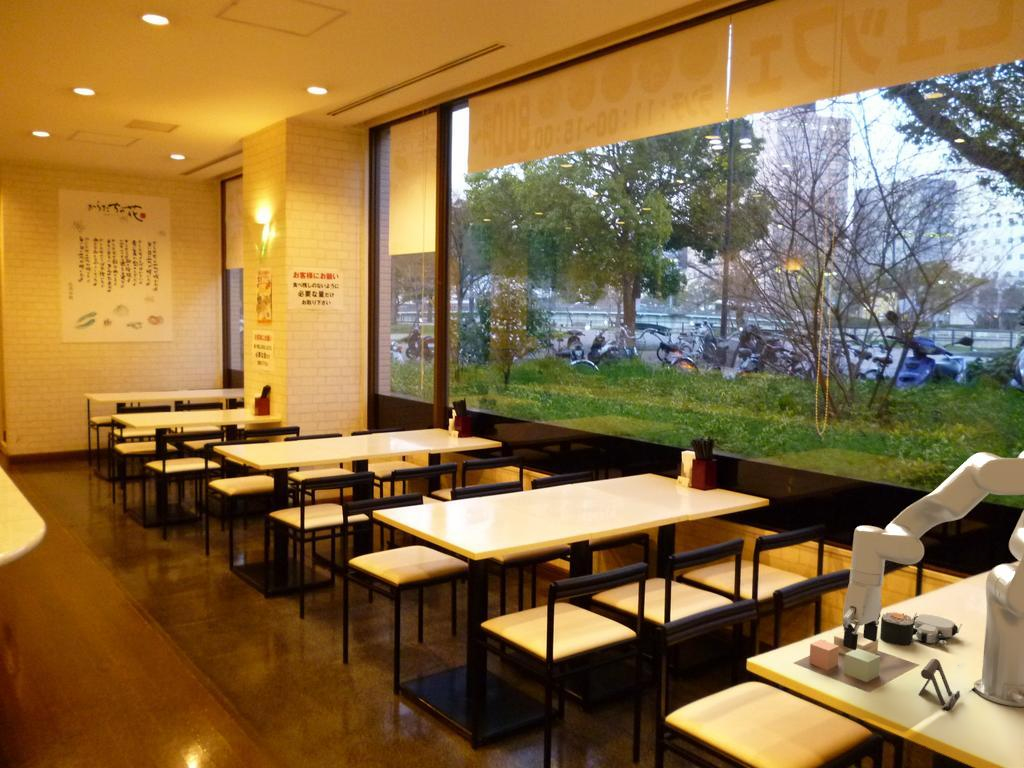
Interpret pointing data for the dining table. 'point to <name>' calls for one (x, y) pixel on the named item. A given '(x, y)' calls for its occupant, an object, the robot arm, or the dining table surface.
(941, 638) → the robot toy
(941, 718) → the dining table surface
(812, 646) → the terracotta block
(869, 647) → the birch base block
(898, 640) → the sushi
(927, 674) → the portable electronic device stand
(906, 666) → the walnut board
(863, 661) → the green block
